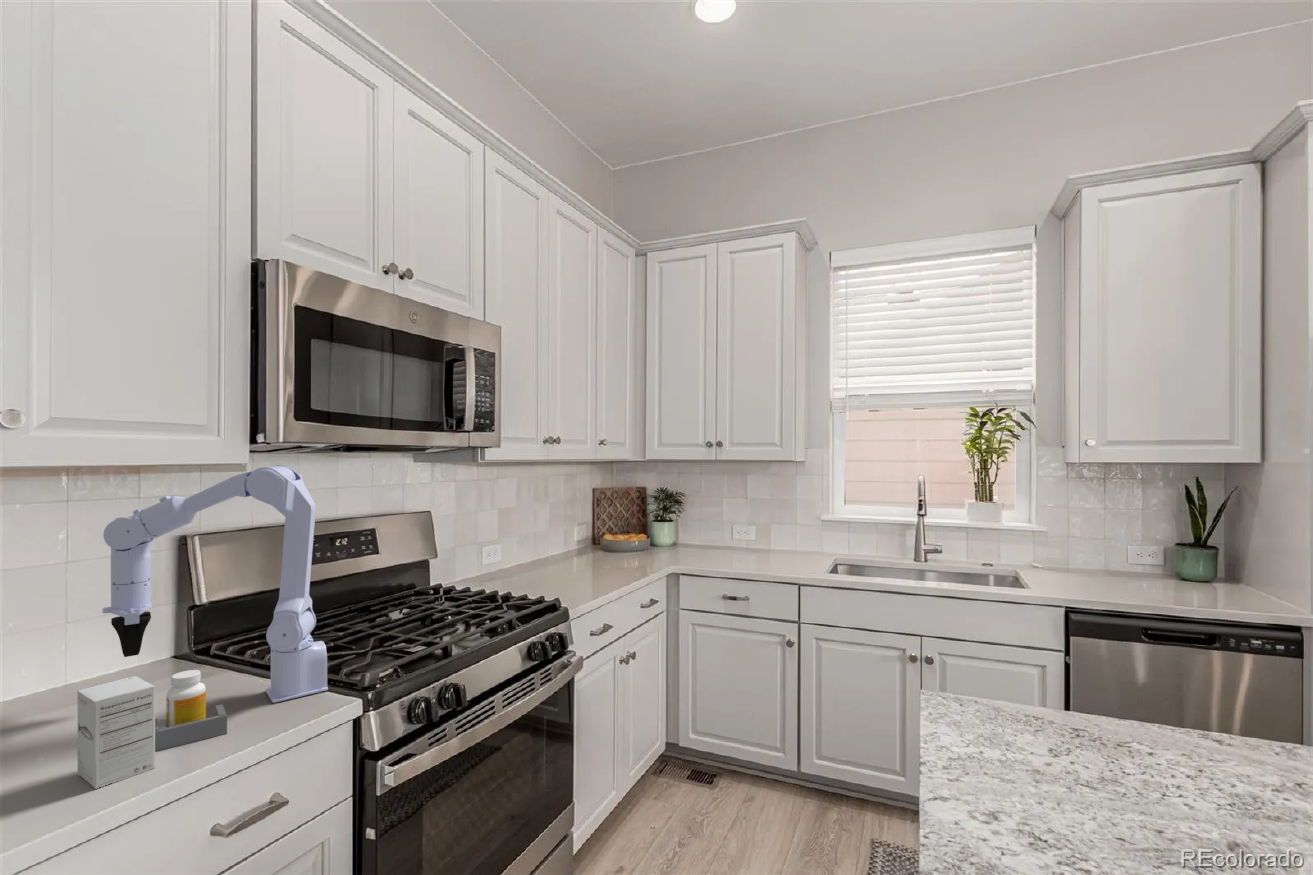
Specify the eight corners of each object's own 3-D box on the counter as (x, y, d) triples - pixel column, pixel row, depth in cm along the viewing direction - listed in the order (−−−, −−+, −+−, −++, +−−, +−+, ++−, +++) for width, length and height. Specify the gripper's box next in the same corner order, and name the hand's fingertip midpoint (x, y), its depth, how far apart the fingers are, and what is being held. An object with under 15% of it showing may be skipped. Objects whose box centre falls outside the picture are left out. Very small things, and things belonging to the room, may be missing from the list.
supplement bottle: (214, 725, 110) (213, 669, 110) (184, 740, 105) (184, 681, 105) (188, 722, 111) (187, 667, 111) (158, 737, 106) (157, 678, 106)
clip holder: (222, 721, 112) (222, 704, 112) (227, 733, 107) (227, 715, 107) (149, 738, 105) (149, 720, 105) (151, 752, 101) (150, 733, 101)
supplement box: (75, 776, 94) (75, 689, 94) (138, 755, 100) (137, 674, 100) (93, 791, 90) (92, 701, 90) (156, 768, 96) (156, 684, 96)
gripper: (103, 577, 121) (103, 649, 121) (101, 592, 110) (102, 671, 110) (150, 572, 126) (150, 641, 126) (153, 585, 115) (154, 661, 115)
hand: (131, 655), depth 118 cm, fingers closed
